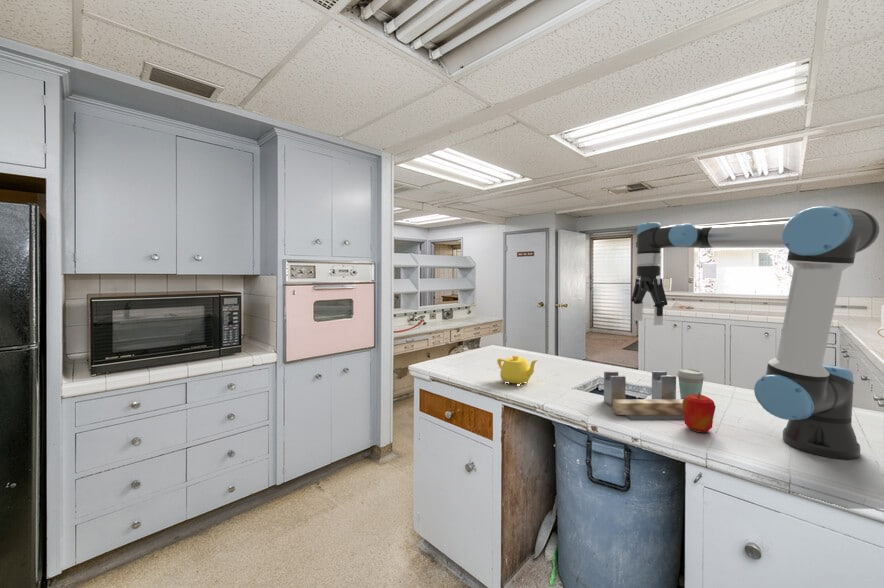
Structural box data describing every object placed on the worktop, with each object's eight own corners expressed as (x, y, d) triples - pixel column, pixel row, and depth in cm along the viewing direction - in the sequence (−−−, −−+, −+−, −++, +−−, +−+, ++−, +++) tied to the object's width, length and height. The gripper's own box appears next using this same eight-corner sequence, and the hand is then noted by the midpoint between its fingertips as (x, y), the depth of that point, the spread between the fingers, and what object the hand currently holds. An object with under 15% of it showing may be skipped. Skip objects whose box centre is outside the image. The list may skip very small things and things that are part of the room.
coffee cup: (708, 407, 135) (709, 374, 134) (682, 405, 136) (683, 373, 136) (697, 399, 143) (698, 368, 142) (673, 398, 145) (673, 367, 144)
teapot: (532, 390, 157) (532, 361, 156) (490, 383, 169) (490, 356, 168) (544, 383, 167) (544, 356, 167) (504, 376, 179) (504, 351, 179)
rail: (687, 410, 130) (687, 399, 130) (695, 414, 126) (695, 403, 126) (612, 410, 131) (612, 399, 131) (617, 414, 127) (617, 403, 127)
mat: (703, 419, 123) (703, 418, 123) (630, 419, 124) (630, 418, 124) (685, 409, 133) (685, 407, 133) (617, 409, 134) (617, 407, 134)
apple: (685, 422, 121) (686, 386, 121) (717, 429, 115) (718, 392, 115) (678, 429, 115) (679, 392, 115) (711, 438, 109) (712, 398, 109)
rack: (675, 407, 134) (676, 376, 134) (611, 407, 135) (611, 376, 135) (664, 401, 141) (665, 371, 141) (603, 401, 142) (603, 371, 142)
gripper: (679, 264, 124) (678, 327, 125) (641, 266, 149) (640, 318, 150) (657, 264, 124) (656, 327, 125) (622, 266, 149) (621, 318, 150)
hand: (647, 322), depth 137 cm, fingers open, 13 cm apart
